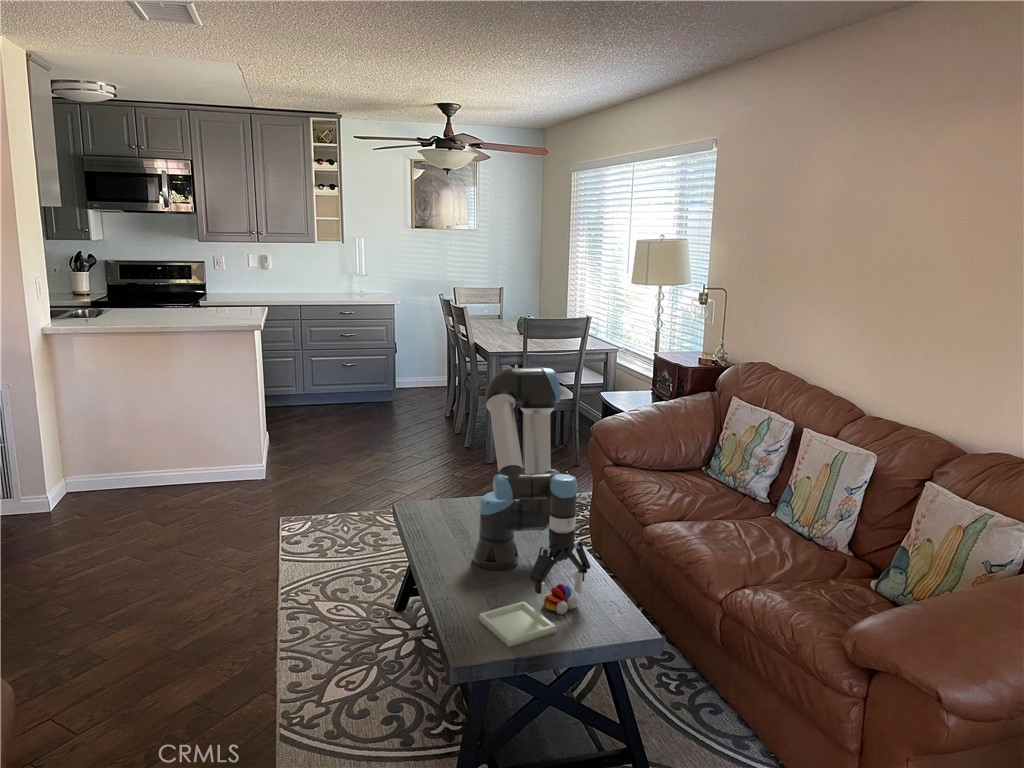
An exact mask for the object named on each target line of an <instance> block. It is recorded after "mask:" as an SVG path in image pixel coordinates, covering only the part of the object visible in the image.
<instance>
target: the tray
mask: <svg viewBox="0 0 1024 768" xmlns="http://www.w3.org/2000/svg"><path fill="white" fill-rule="evenodd" d="M478 615H479V617H478V619H479V622H480V623H482V624H483V626H485V627H486V628H487V629H488V630H489V631H490V632H491V633H493V634H494V635H495V636H496V638H498V639H499V640H500V641H501V642H502V643H503V644H505V646H507V647H508V648H512V647H515V646H518V645H521V644H525V643H527V642H531V641H535V640H537V639H540V638H542V637H546V636H547V637H548V636H549V635H552V634H556V631H557V629H556V627H557V626H556V625H555V624H554V623H553V622H551V621H550V620H549V619H548V618H546V617H545V616H544V615H542V614H541V613H540V612H539V611H538V610H536V609H535V608H534V607H532V605H529V604H528V603H527V602H526V601H525V600H523V601H520V602H519V601H518V602H516V603H512V604H509V605H505V606H502V607H498V608H495V609H492V610H488V611H485V612H481V613H478Z"/></svg>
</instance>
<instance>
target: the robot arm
mask: <svg viewBox="0 0 1024 768" xmlns="http://www.w3.org/2000/svg"><path fill="white" fill-rule="evenodd" d="M560 401H561V386H560V381H559V377H558V374H557V372H556V371H555V369H553V368H549V367H521V368H520V367H509V368H504V369H502V370H501V371H499V372H498V373H497V374H496V375H495V376H493V378H492V380H490V382H489V384H488V386H487V389H486V392H485V406H486V409H487V410H488V411H489V413H490V419H491V426H492V428H491V429H492V436H493V441H494V442H493V443H494V449H495V456H496V462H497V471H498V474H495V475H494V476H493V480H492V490H493V491H490V492H487V493H485V494H484V495H482V497H481V498H480V502H479V508H478V512H479V522H478V524H479V525H478V526H479V528H478V529H479V530H478V532H479V533H478V540H477V543H476V546H475V549H474V551H473V559H472V560H473V563H474V565H476V566H477V567H479V568H480V569H481V568H482V569H485V570H490V571H504V570H508V569H511V568H514V567H515V566H517V565H518V564H519V561H520V560H519V551H518V548H517V545H516V542H515V532H527V531H529V532H530V531H541V532H542V531H546V530H547V531H548V542H549V546H548V547H547V548H545V547H543V546H542V547H539V551H538V553H539V554H538V556H537V559H536V561H535V563H534V566H533V567H532V571H531V573H530V575H529V577H528V578H529V581H531V582H532V583H534V592H535V593H536V602H537V603H539V604H540V605H541V606H544V595H545V590H546V589H545V587H546V583H545V582H544V581H545V579H546V577H547V576H548V575H549V574H550V571H551V570H552V568H553V567H554V565H556V564H558V562H561V561H565V560H568V559H569V560H570V562H571V563H572V564H573V566H575V567H576V569H575V571H574V592H576V593H577V594H578V595H582V594H583V583H584V581H585V574H587V573H588V570H590V569H591V567H592V566H591V563H590V561H589V559H588V557H587V554H586V552H585V550H584V542H583V541H581V540H580V539H577V538H576V520H577V519H576V517H577V515H576V513H577V498H578V497H577V495H578V480H577V478H576V477H575V476H573V475H571V474H566V473H565V474H564V473H561V472H560V471H559V470H556V469H553V468H551V413H552V412H553V411H554V410H555V407H556V404H557V403H560ZM516 404H519V409H520V410H521V412H523V414H524V465H523V460H522V453H521V447H520V439H519V433H518V428H517V422H516V421H517V420H516V415H515V409H514V408H515V407H516ZM574 550H575V551H576V554H577V555H578V558H579V560H580V561H579V560H578V558H577V557H576V555H575V553H574V552H573V551H574Z"/></svg>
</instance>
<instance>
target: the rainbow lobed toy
mask: <svg viewBox="0 0 1024 768" xmlns="http://www.w3.org/2000/svg"><path fill="white" fill-rule="evenodd" d="M550 590H551V593H546V594H545V593H544V605H543V607H545V608H546V609H547V610H549V611H555V612H556V614H558V615H565V614H566V613H567V611H568V610H574V609H575V608H576V607H577V606H578V599H577V598H576V596H575V595H572V593H573V591H572V588H571V586H569V585H567V584H566V585H565V584H563V583H559V584H558V583H557V584H556V585H555V586H553V587H551V589H550Z"/></svg>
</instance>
